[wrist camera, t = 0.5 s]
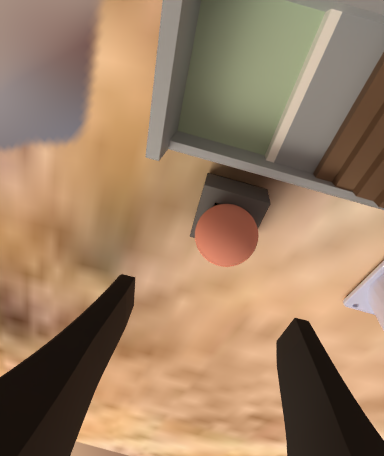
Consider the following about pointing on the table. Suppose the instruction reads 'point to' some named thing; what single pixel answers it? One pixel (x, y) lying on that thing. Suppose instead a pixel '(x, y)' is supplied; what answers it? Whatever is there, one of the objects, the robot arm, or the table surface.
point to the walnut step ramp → (360, 144)
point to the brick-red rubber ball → (226, 235)
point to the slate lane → (262, 82)
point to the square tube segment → (232, 198)
